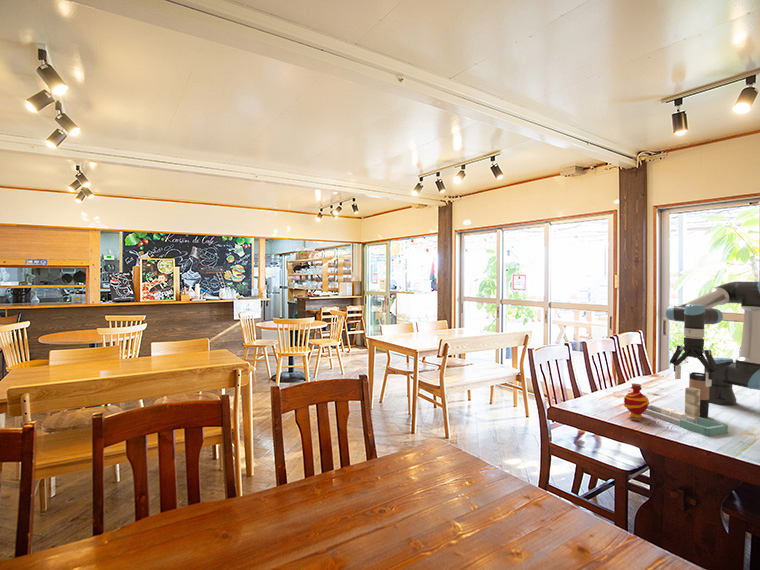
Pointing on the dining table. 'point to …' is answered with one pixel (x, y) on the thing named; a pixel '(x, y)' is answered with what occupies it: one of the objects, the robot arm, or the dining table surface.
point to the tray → (709, 430)
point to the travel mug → (701, 391)
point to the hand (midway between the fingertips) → (692, 382)
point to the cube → (679, 415)
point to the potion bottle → (636, 401)
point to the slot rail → (665, 417)
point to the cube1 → (667, 411)
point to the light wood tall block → (692, 402)
